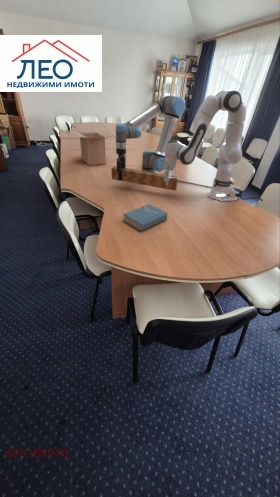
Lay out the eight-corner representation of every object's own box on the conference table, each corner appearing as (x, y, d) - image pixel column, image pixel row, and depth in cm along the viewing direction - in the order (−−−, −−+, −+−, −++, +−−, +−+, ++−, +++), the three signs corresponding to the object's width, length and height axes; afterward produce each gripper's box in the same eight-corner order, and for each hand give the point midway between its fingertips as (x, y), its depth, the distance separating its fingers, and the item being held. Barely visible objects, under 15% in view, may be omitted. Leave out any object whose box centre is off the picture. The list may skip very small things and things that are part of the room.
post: (111, 179, 178) (111, 168, 172) (114, 177, 182) (114, 166, 176) (175, 190, 166) (177, 179, 161) (177, 188, 170) (178, 177, 165)
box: (116, 165, 229) (116, 136, 213) (83, 168, 214) (80, 137, 198) (102, 154, 259) (101, 128, 243) (71, 156, 244) (68, 129, 228)
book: (148, 210, 150) (149, 204, 147) (166, 220, 141) (167, 213, 138) (123, 221, 137) (123, 213, 134) (141, 231, 128) (142, 224, 125)
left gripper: (121, 151, 156) (121, 183, 170) (130, 146, 170) (129, 176, 184) (111, 150, 157) (112, 181, 171) (121, 144, 172) (121, 174, 186)
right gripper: (171, 169, 151) (168, 188, 159) (176, 161, 166) (174, 179, 175) (162, 168, 152) (160, 187, 160) (168, 160, 168) (166, 178, 176)
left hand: (121, 178), depth 178 cm, fingers closed on post, 5 cm apart
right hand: (167, 183), depth 168 cm, fingers closed on post, 5 cm apart
